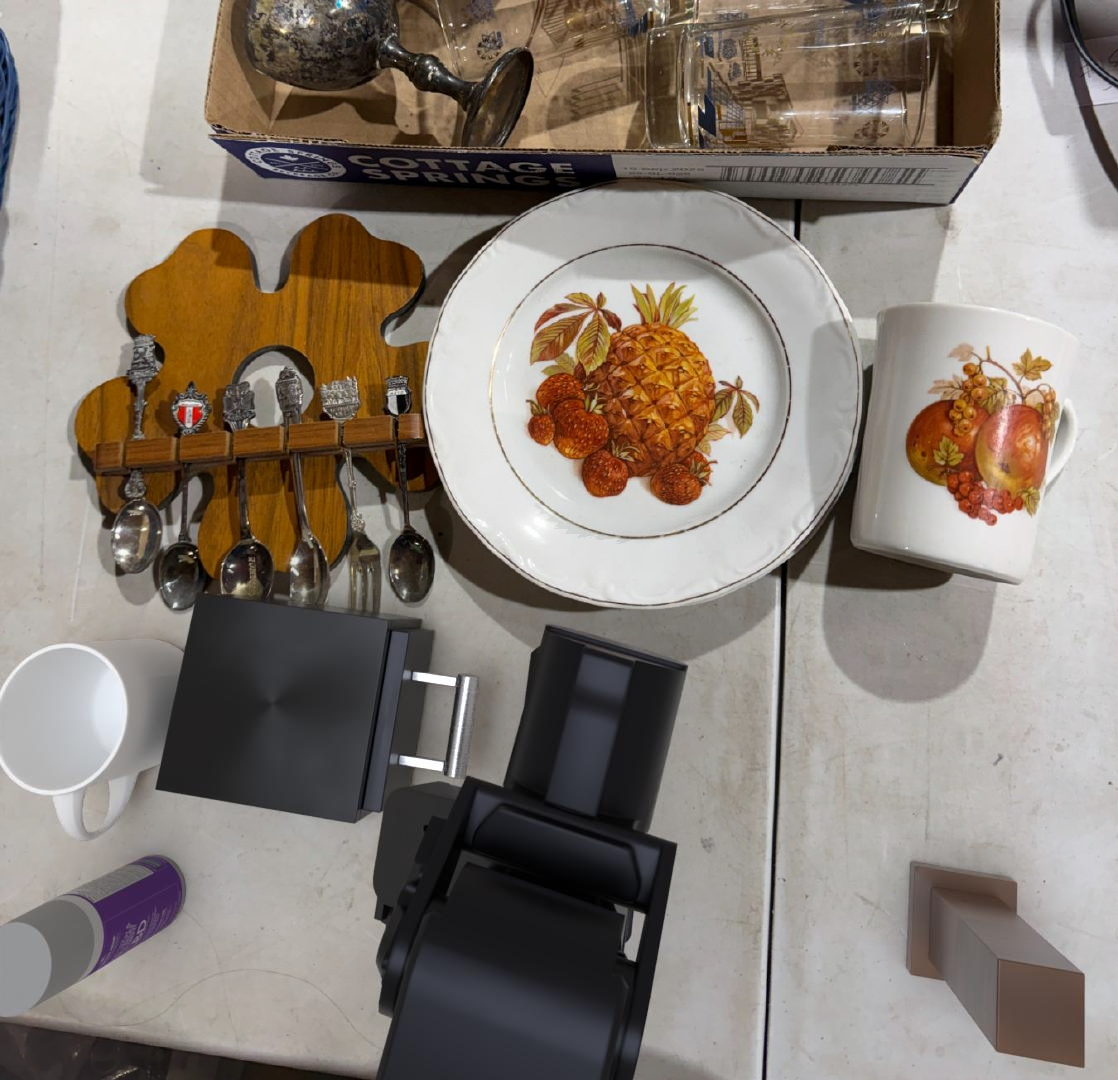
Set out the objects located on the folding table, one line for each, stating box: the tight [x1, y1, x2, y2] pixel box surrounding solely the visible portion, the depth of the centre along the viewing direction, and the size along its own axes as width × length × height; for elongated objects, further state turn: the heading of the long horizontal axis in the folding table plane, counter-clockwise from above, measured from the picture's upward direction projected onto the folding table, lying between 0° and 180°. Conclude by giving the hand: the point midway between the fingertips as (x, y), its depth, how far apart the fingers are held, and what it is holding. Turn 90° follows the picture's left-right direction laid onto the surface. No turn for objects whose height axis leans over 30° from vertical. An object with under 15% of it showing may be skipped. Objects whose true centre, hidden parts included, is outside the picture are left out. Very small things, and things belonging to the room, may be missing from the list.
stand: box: [905, 861, 1086, 1069], centre depth 55 cm, size 6×6×14 cm
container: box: [0, 854, 187, 1018], centre depth 60 cm, size 5×5×15 cm
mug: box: [0, 638, 184, 842], centre depth 65 cm, size 9×12×11 cm
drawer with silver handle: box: [362, 627, 481, 814], centre depth 65 cm, size 16×10×7 cm, turn 83°
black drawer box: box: [154, 592, 423, 825], centre depth 66 cm, size 13×12×9 cm
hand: (588, 822), depth 55 cm, fingers closed
